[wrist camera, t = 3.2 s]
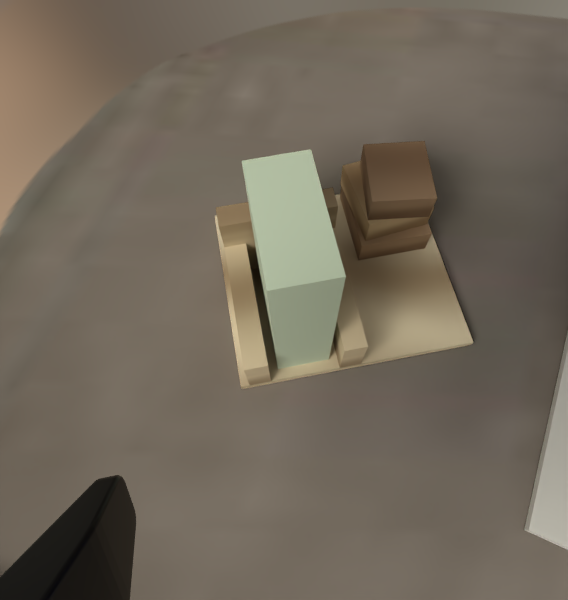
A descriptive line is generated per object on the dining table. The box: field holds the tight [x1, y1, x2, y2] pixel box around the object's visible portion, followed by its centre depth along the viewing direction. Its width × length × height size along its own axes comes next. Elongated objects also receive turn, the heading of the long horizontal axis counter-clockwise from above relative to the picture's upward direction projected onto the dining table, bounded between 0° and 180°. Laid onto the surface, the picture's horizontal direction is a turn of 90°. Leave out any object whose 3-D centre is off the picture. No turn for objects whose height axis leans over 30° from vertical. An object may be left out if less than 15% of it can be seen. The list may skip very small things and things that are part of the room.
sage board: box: [242, 149, 346, 369], centre depth 19 cm, size 5×2×8 cm, turn 10°
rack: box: [215, 141, 473, 389], centre depth 22 cm, size 10×11×5 cm
